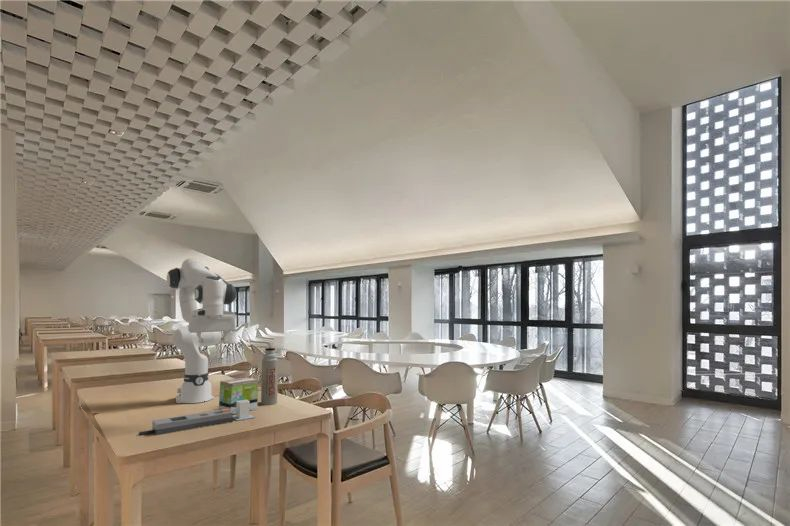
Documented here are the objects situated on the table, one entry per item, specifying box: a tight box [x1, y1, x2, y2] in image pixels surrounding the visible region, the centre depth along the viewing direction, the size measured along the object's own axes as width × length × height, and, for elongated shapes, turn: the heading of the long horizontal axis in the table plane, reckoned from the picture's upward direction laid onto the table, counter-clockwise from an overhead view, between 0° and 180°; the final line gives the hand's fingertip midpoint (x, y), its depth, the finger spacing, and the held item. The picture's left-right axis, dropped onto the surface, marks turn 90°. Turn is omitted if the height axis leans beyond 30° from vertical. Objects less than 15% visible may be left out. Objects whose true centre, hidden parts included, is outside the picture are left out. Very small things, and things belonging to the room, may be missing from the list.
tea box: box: [218, 377, 259, 415], centre depth 218 cm, size 15×10×15 cm
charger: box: [235, 400, 250, 419], centre depth 205 cm, size 4×4×7 cm
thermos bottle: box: [260, 347, 279, 406], centre depth 234 cm, size 8×8×28 cm
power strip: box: [138, 409, 234, 436], centre depth 190 cm, size 8×36×5 cm, turn 129°
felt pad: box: [233, 413, 256, 422], centre depth 205 cm, size 8×8×1 cm
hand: (212, 342), depth 206 cm, fingers open, 8 cm apart
